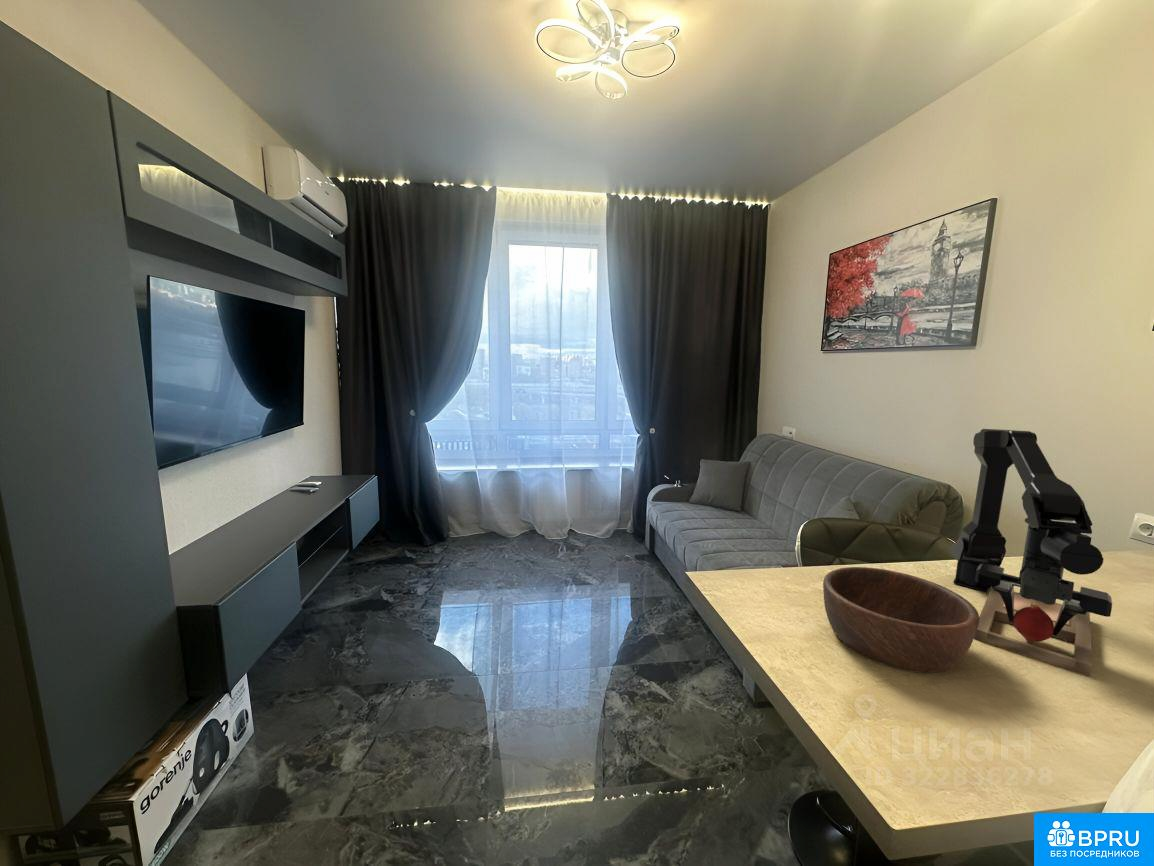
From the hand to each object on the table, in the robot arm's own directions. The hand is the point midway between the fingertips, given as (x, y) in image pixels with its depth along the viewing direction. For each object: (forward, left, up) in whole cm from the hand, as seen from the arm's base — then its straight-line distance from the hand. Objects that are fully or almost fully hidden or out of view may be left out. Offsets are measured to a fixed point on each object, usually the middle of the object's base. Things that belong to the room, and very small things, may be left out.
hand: (1032, 628), depth 93 cm
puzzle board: (0, +7, -3) cm, 8 cm away
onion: (0, 0, -3) cm, 3 cm away
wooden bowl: (-19, -21, -3) cm, 28 cm away
